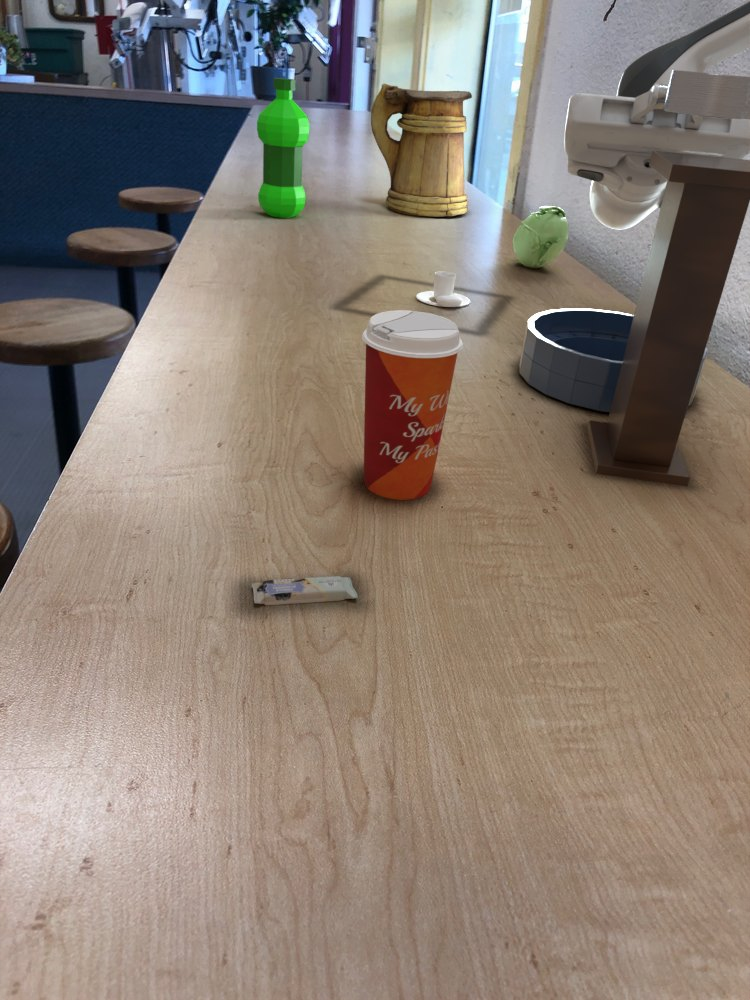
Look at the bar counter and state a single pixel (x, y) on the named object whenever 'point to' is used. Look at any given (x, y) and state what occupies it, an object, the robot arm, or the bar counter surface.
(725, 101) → the grey block
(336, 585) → the granola bar
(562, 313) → the bowl
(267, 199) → the plastic bottle
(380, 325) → the paper cup
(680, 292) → the wooden post stand
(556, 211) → the green cabbage
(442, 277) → the teacup and saucer
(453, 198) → the tankard
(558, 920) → the bar counter surface
